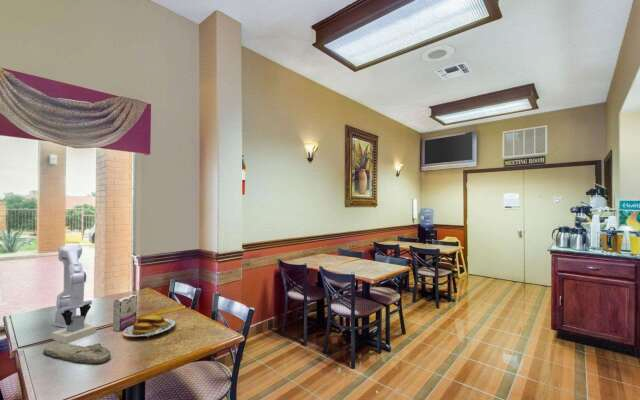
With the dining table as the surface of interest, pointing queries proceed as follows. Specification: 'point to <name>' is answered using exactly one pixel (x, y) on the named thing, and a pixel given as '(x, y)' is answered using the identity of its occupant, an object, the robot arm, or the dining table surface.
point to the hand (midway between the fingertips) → (75, 322)
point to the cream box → (73, 334)
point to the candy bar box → (124, 312)
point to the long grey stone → (78, 352)
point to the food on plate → (148, 326)
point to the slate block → (76, 323)
